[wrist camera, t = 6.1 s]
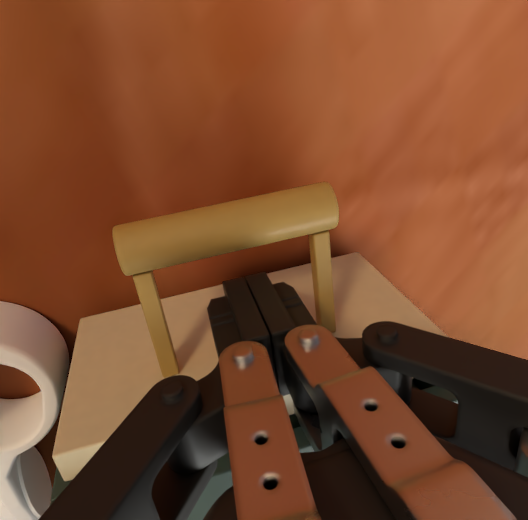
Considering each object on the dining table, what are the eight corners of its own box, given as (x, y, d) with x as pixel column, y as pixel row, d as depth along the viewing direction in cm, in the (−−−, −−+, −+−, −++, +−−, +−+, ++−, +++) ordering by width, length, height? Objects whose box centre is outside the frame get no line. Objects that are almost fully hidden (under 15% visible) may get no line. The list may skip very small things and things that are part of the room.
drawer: (33, 197, 18) (-32, 293, 11) (353, 134, 20) (467, 182, 13) (167, 547, 29) (177, 708, 22) (366, 481, 31) (433, 608, 24)
